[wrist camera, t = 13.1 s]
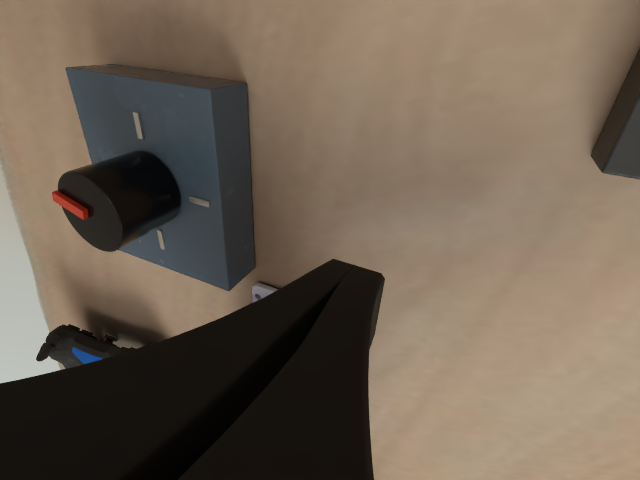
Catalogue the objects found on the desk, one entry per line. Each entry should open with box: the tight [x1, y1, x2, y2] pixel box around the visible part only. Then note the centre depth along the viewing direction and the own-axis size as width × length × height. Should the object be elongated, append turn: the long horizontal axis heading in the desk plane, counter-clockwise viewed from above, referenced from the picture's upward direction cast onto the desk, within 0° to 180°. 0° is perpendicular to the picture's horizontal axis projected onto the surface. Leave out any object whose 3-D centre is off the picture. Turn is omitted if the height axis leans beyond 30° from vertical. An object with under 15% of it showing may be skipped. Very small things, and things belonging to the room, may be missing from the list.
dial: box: [52, 151, 180, 252], centre depth 20 cm, size 4×4×4 cm
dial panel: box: [66, 64, 255, 291], centre depth 22 cm, size 12×10×3 cm
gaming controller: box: [36, 324, 135, 369], centre depth 37 cm, size 17×6×10 cm
